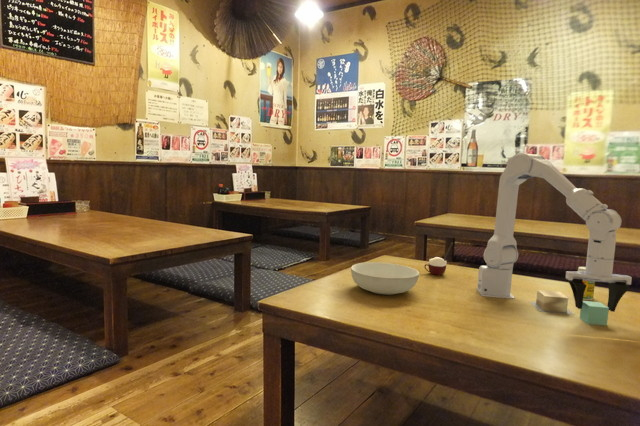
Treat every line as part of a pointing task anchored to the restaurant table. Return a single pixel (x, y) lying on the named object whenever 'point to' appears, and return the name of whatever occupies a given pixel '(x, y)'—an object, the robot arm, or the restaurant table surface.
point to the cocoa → (438, 264)
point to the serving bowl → (384, 277)
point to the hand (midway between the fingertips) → (594, 309)
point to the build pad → (549, 311)
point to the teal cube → (594, 313)
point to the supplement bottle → (587, 287)
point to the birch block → (552, 301)
